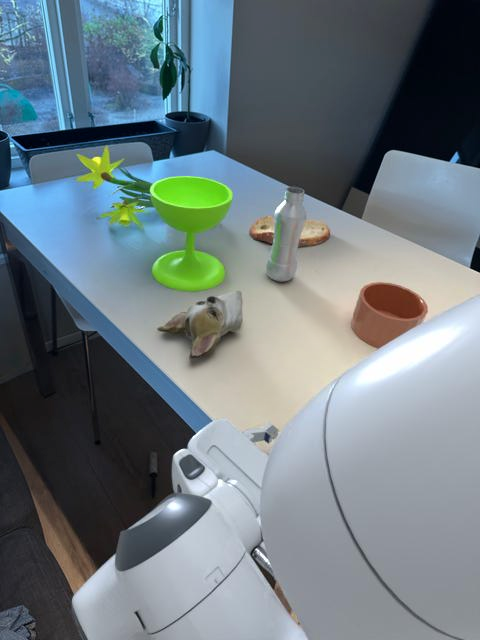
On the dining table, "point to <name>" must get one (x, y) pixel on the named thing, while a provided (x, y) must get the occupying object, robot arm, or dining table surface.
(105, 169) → the daffodil flowers
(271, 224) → the bread slice
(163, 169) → the dining table surface
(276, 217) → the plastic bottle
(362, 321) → the terracotta bowl
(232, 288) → the dining table surface
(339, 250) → the dining table surface
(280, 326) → the dining table surface
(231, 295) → the ceramic sculpture
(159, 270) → the wineglass
